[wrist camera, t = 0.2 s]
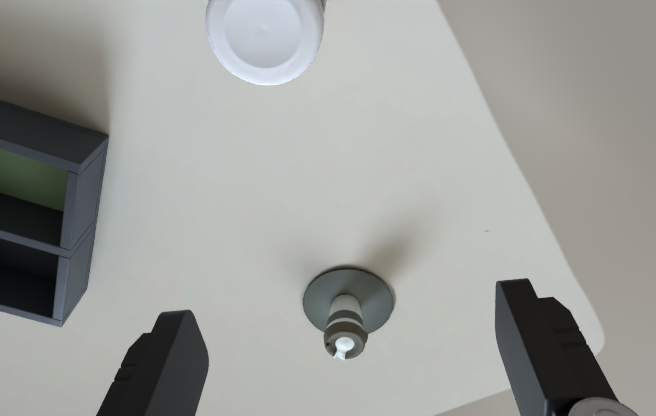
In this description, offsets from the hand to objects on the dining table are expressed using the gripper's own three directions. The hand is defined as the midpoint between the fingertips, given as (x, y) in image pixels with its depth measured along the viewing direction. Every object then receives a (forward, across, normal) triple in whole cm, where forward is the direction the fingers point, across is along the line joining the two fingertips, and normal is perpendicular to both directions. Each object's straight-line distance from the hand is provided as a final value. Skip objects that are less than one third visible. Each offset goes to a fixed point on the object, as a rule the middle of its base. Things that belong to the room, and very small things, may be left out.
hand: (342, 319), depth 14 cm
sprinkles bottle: (+24, +2, -6) cm, 24 cm away
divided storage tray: (+24, +28, +6) cm, 37 cm away
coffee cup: (+24, +3, +20) cm, 31 cm away
